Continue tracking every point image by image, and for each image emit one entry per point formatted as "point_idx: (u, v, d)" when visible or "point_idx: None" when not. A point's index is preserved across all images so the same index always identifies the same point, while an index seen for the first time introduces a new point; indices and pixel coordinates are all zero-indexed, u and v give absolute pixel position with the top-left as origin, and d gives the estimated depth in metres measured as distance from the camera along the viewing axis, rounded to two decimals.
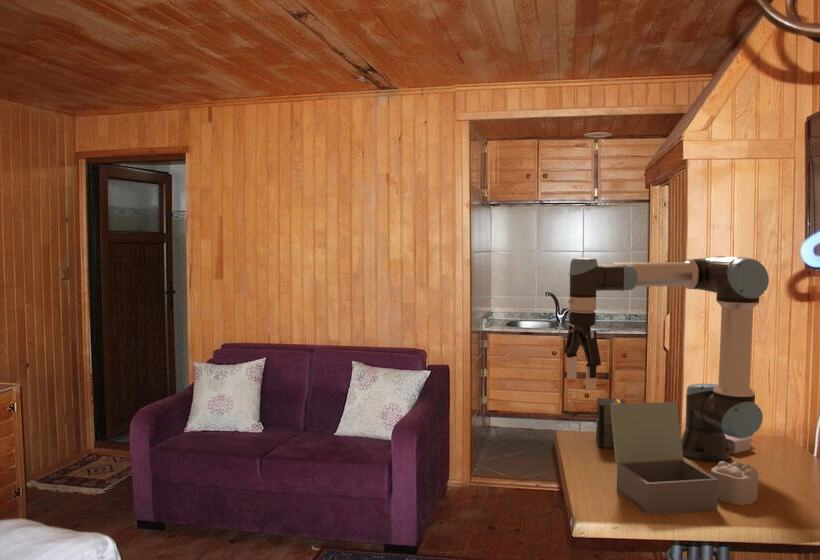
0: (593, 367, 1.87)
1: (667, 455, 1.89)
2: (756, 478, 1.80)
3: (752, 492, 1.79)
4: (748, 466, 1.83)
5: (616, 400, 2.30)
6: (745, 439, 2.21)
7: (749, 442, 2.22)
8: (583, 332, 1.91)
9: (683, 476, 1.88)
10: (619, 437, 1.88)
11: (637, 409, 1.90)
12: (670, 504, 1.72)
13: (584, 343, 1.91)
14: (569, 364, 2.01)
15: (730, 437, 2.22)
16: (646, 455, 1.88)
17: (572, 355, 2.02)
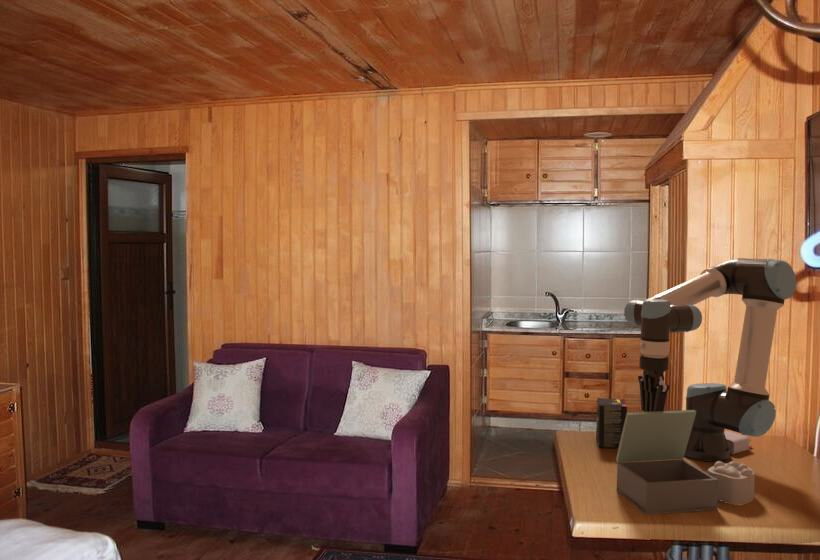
0: None
1: (668, 456, 1.88)
2: (753, 478, 1.80)
3: (749, 492, 1.79)
4: (744, 466, 1.83)
5: (616, 400, 2.30)
6: (744, 439, 2.21)
7: (748, 442, 2.22)
8: (656, 379, 1.82)
9: (683, 476, 1.88)
10: (626, 442, 1.84)
11: (653, 418, 1.82)
12: (670, 504, 1.72)
13: (652, 392, 1.84)
14: None
15: (729, 437, 2.22)
16: (648, 456, 1.87)
17: None
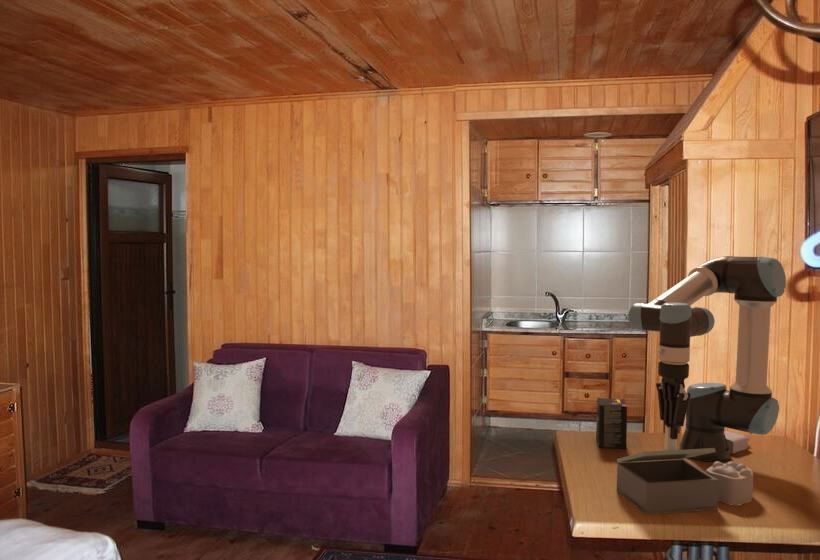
0: (674, 428, 1.75)
1: (670, 459, 1.88)
2: (751, 478, 1.80)
3: (748, 492, 1.79)
4: (743, 466, 1.83)
5: (616, 400, 2.30)
6: (742, 439, 2.22)
7: (746, 441, 2.23)
8: (676, 386, 1.73)
9: (683, 476, 1.88)
10: (633, 459, 1.80)
11: (668, 455, 1.74)
12: (670, 504, 1.72)
13: (672, 400, 1.75)
14: None
15: (728, 437, 2.22)
16: (650, 460, 1.87)
17: None
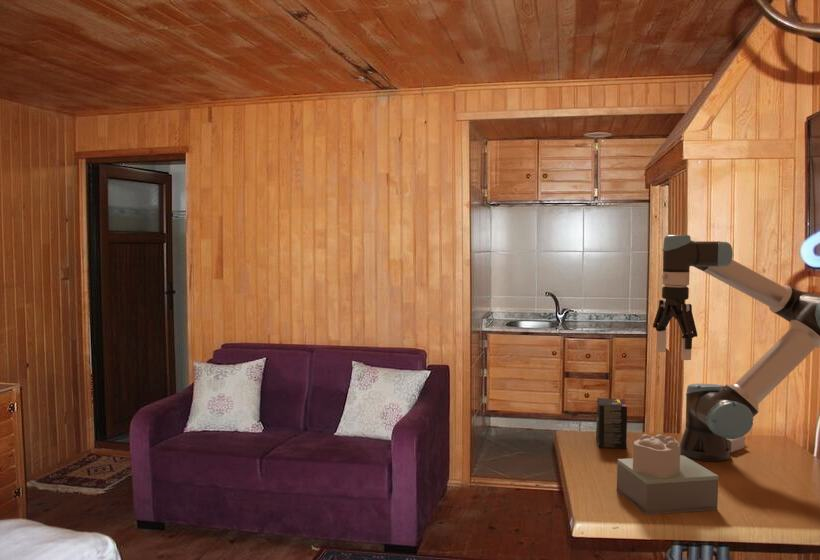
0: (689, 338, 1.95)
1: None
2: (678, 450, 1.75)
3: (674, 464, 1.74)
4: (670, 438, 1.78)
5: (616, 400, 2.30)
6: (740, 438, 2.23)
7: (743, 441, 2.24)
8: (677, 305, 1.99)
9: None
10: None
11: None
12: (670, 504, 1.72)
13: (679, 316, 1.98)
14: (659, 338, 2.09)
15: None
16: None
17: (662, 329, 2.10)
